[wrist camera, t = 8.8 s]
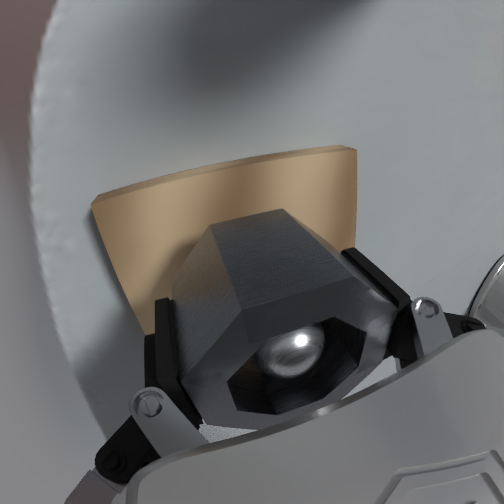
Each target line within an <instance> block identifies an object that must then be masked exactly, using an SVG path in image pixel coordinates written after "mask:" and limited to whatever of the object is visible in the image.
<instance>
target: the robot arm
mask: <svg viewBox="0 0 504 504" xmlns="http://www.w3.org/2000/svg"><path fill="white" fill-rule="evenodd" d="M341 254H342V255H343V256H344V257H345V258H346V259H347V260H348V261H349V262H350V263H351V264H352V265H353V266H354V267H356V268H357V269H358V270H359V271H360V272H361V273H362V274H363V275H364V276H365V277H366V278H367V279H368V280H369V281H370V282H371V283H372V284H373V285H374V286H375V287H376V288H377V289H378V290H379V291H380V292H381V293H382V294H383V295H384V296H385V297H387V298H388V299H389V300H390V301H391V302H392V303H393V304H394V305H395V306H396V307H397V308H398V311H397V315H396V318H395V322H394V325H393V329H392V332H391V335H390V339H389V342H388V345H387V348H386V351H385V354H384V357H383V360H384V359H386V358H388V357H390V356H392V355H393V357H394V358H395V363H396V369H397V372H396V373H394V374H393V375H391V376H389V377H387V378H385V379H383V380H381V381H379V382H377V383H375V384H373V385H371V386H369V387H367V388H365V389H363V390H361V391H359V392H357V393H355V394H353V395H351V396H348V397H346V398H344V399H342V400H340V401H337V402H335V403H333V404H330V405H328V406H325V407H323V408H321V409H318V410H316V411H313V412H310V413H308V414H305V415H303V416H300V417H297V418H294V419H292V420H289V421H286V422H283V423H280V424H277V425H274V426H271V427H268V428H264V429H261V430H258V431H254V432H251V433H247V434H244V435H240V436H237V437H233V438H229V439H225V440H221V441H217V442H213V443H209V442H208V441H207V440H206V439H205V437H204V436H203V435H202V434H201V433H200V432H199V431H198V430H199V428H200V426H199V425H200V424H203V421H202V416H201V415H200V413H199V412H198V410H197V408H196V407H195V405H194V403H193V402H192V400H191V398H190V397H189V395H188V393H187V392H186V390H185V388H184V387H183V385H182V383H181V379H180V372H179V364H178V356H177V347H176V338H175V328H174V317H173V306H172V300H169V298H168V297H166V298H162V299H158V300H155V333H153V334H149V335H146V336H145V340H144V366H145V388H143V389H141V390H139V391H138V392H136V393H135V394H134V395H133V397H132V398H131V400H130V404H129V410H130V412H131V416H130V417H129V418H128V419H127V420H126V422H125V423H124V424H123V425H122V426H121V427H120V428H119V429H118V430H117V431H116V432H115V433H114V435H113V436H112V437H111V438H110V439H109V440H108V441H107V442H106V443H105V444H104V445H103V446H102V447H101V448H100V450H99V451H98V453H97V454H96V458H95V466H96V467H95V468H94V469H93V471H91V470H89V471H88V472H87V473H86V475H85V476H84V477H83V479H82V480H81V481H80V482H79V484H78V485H77V486H76V488H75V489H74V490H73V491H72V493H71V494H70V495H69V496H68V498H67V499H66V501H65V503H64V504H504V256H503V257H502V258H501V259H500V260H499V261H498V262H497V264H496V265H495V266H494V268H493V269H492V270H491V272H490V273H489V275H488V276H487V278H486V280H485V281H484V283H483V285H482V287H481V289H480V290H479V292H478V294H477V296H476V298H475V300H474V303H473V305H472V308H471V311H470V314H469V317H468V316H462V315H456V314H450V313H445V312H443V310H442V308H441V306H440V304H439V303H438V302H437V301H435V300H433V299H431V298H428V297H420V298H417V299H415V300H414V301H412V300H411V299H410V296H409V295H408V294H407V293H406V292H405V291H404V290H402V289H401V288H400V287H399V286H398V285H397V284H396V283H395V282H394V281H393V280H391V279H390V278H389V277H388V276H387V275H386V274H385V273H384V272H382V271H381V270H380V269H379V268H378V267H377V266H376V265H374V264H373V263H372V262H371V261H370V260H369V259H368V258H366V257H365V256H364V255H363V254H362V253H361V252H359V251H358V250H357V249H356V248H354V247H351V248H348V249H344V250H342V251H341ZM483 323H484V324H486V325H487V326H486V328H485V326H484V324H483Z"/></svg>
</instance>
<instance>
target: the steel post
mask: <svg viewBox="0 0 504 504" xmlns="http://www.w3.org/2000/svg"><path fill="white" fill-rule="evenodd" d="M323 348H324V331H323V328H322V325H321V323H320V322H318V323H315V324H312V325H309V326H306V327H303V328H300V329H297V330H294V331H291V332H288V333H285V334H282V335H278V336H275V337H272V338H269V339H267V340H266V341H265V342H264V343H263V344H262V345H261V346H260V348H259V349H258V350H257V351H256V352H255V353H254V354H253V355H252V356H251V357H250V358H251V359H252V361H253V363H254V364H255V365H256V366H257V367H258V368H259V369H260V370H261V371H263V372H264V373H266V374H268V375H270V376H273V377H276V378H293V377H297V376H300V375H302V374H304V373H306V372H307V371H309V370H310V369H311V368H312V367H313V366H314V365H315V364H316V363H317V361H318V360H319V358H320V356H321V354H322V352H323Z"/></svg>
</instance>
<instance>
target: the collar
mask: <svg viewBox="0 0 504 504" xmlns="http://www.w3.org/2000/svg"><path fill="white" fill-rule="evenodd" d="M171 292H172V306H173V317H174V328H175V338H176V347H177V356H178V364H179V372H180V379H181V383H182V385H183V387H184V388H185V390H186V392H187V393H188V395H189V397H190V398H191V400H192V402H193V403H194V405H195V407H196V408H197V410H198V412H199V413H200V415H201V416H202V418H203V419H204V421H205V423H206V424H207V425H214V426H222V427H231V428H241V429H253V430H261V429H264V428H268V427H271V426H274V425H277V424H280V423H283V422H286V421H289V420H292V419H294V418H297V417H300V416H303V415H305V414H308V413H310V412H313V411H316V410H318V409H321V408H323V407H325V406H328V405H330V404H333V403H335V402H337V401H340V400H341V399H342V398H343V397H344V396H346V395H347V394H348V393H349V392H350V391H351V390H352V389H354V388H355V387H356V386H357V385H358V384H359V383H360V382H361V381H362V380H364V379H365V378H366V377H367V376H368V375H369V374H370V373H371V372H372V371H373V370H374V369H375V368H376V367H377V366H378V365H379V364H380V363H381V362H382V360H383V357H384V354H385V351H386V348H387V345H388V342H389V339H390V335H391V332H392V329H393V325H394V322H395V318H396V315H397V311H398V308H397V307H396V306H395V305H394V304H393V303H392V302H391V301H390V300H389V299H388V298H387V297H385V296H384V295H383V294H382V293H381V292H380V291H379V290H378V289H377V288H376V287H375V286H374V285H373V284H372V283H371V282H370V281H369V280H368V279H367V278H366V277H365V276H364V275H363V274H362V273H361V272H360V271H359V270H358V269H357V268H356V267H354V266H353V265H352V264H351V263H350V262H349V261H348V260H347V259H346V258H345V257H344V256H343V255H342V254H341V253H340V252H338V251H337V250H336V249H335V248H334V247H333V246H332V245H331V244H330V243H329V242H327V241H326V240H325V239H323V238H322V237H321V236H319V235H318V234H317V233H315V232H314V231H313V230H311V229H310V228H309V227H307V226H306V225H305V224H303V223H302V222H301V221H299V220H298V219H296V218H295V217H294V216H292V215H291V214H290V213H288V212H287V211H285V210H284V209H283V208H281V209H276V210H271V211H267V212H262V213H258V214H253V215H249V216H245V217H240V218H236V219H232V220H227V221H223V222H219V223H215V224H210V225H209V226H208V227H207V229H206V230H205V232H204V233H203V235H202V236H201V238H200V239H199V241H198V242H197V244H196V245H195V246H194V248H193V249H192V251H191V252H190V254H189V255H188V257H187V258H186V260H185V261H184V263H183V264H182V266H181V267H180V269H179V271H178V272H177V274H176V275H175V277H174V278H173V280H172V281H171ZM318 322H320V323H321V325H322V328H323V331H324V348H323V352H322V354H321V356H320V358H319V360H318V361H317V363H316V364H315V365H314V366H313V367H312V368H311V369H310V370H309V371H307V372H306V373H304V374H302V375H300V376H297V377H293V378H276V377H273V376H270V375H268V374H266V373H264V372H263V371H261V370H260V369H259V368H258V367H257V366H256V365H255V364H254V363H253V361H252V359H251V358H250V357H251V356H252V355H253V354H254V353H255V352H256V351H257V350H258V349H259V348H260V346H261V345H262V344H263V343H264V342H265V341H266V340H267V339H269V338H272V337H275V336H278V335H282V334H285V333H288V332H291V331H294V330H297V329H300V328H303V327H306V326H309V325H312V324H315V323H318Z"/></svg>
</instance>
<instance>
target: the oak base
mask: <svg viewBox="0 0 504 504" xmlns="http://www.w3.org/2000/svg"><path fill="white" fill-rule="evenodd" d="M91 208H92V211H93V214H94V217H95V220H96V223H97V226H98V229H99V232H100V234H101V237H102V240H103V242H104V245H105V248H106V250H107V253H108V255H109V258H110V260H111V263H112V265H113V268H114V270H115V272H116V275H117V277H118V279H119V282H120V284H121V286H122V288H123V291H124V293H125V295H126V297H127V299H128V301H129V304H130V306H131V308H132V310H133V312H134V314H135V316H136V318H137V320H138V322H139V324H140V326H141V328H142V330H143V332H144V334H145V336H146V335H149V334H153V333H155V300H158V299H162V298H166V297H168V298H169V300H172V292H171V281H172V280H173V278H174V277H175V275H176V274H177V272H178V271H179V269H180V267H181V266H182V264H183V263H184V261H185V260H186V258H187V257H188V255H189V254H190V252H191V251H192V249H193V248H194V246H195V245H196V244H197V242H198V241H199V239H200V238H201V236H202V235H203V233H204V232H205V230H206V229H207V227H208V226H209V225H210V224H215V223H219V222H223V221H227V220H232V219H236V218H240V217H245V216H249V215H253V214H258V213H262V212H267V211H271V210H276V209H281V208H283V209H284V210H285V211H287V212H288V213H290V214H291V215H292V216H294V217H295V218H296V219H298V220H299V221H301V222H302V223H303V224H305V225H306V226H307V227H309V228H310V229H311V230H313V231H314V232H315V233H317V234H318V235H319V236H321V237H322V238H323V239H325V240H326V241H327V242H329V243H330V244H331V245H332V246H333V247H334V248H335V249H336V250H337V251H338V252H340V253H341V251H342V250H344V249H348V248H351V247H354V248H355V236H356V213H357V150H356V149H353V148H350V147H346V146H343V145H337V146H328V147H319V148H310V149H302V150H295V151H288V152H281V153H274V154H268V155H262V156H256V157H250V158H245V159H239V160H234V161H229V162H224V163H219V164H214V165H209V166H205V167H200V168H196V169H191V170H187V171H183V172H178V173H174V174H170V175H166V176H162V177H159V178H155V179H151V180H147V181H144V182H140V183H136V184H133V185H130V186H126V187H123V188H119V189H116V190H113V191H110V192H106V193H103V194H100V195H98V196H97V197H96V198H95V200H94V201H93V202H92V203H91Z"/></svg>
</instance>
